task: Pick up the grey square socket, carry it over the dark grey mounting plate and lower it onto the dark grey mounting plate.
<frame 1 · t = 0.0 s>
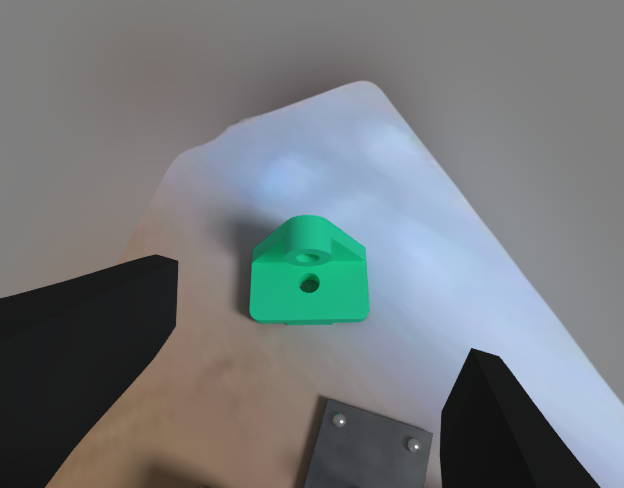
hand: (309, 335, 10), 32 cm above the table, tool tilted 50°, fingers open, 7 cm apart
camera mount: (309, 290, 44), on the table
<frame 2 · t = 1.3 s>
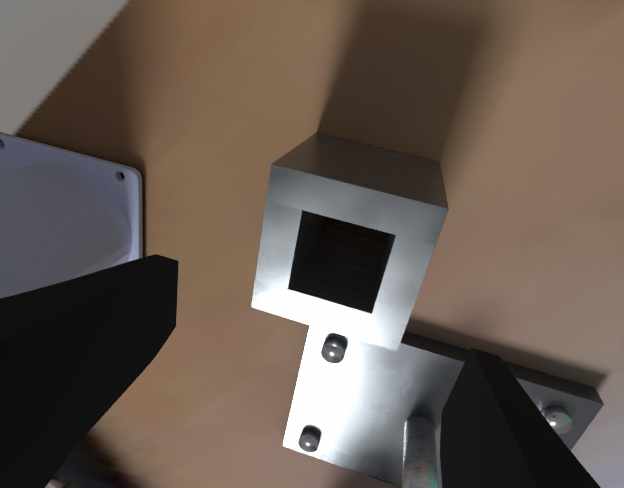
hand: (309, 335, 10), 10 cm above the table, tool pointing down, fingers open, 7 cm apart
grey square socket: (361, 205, 18), on the table
dark grey mounting plate: (419, 413, 23), on the table
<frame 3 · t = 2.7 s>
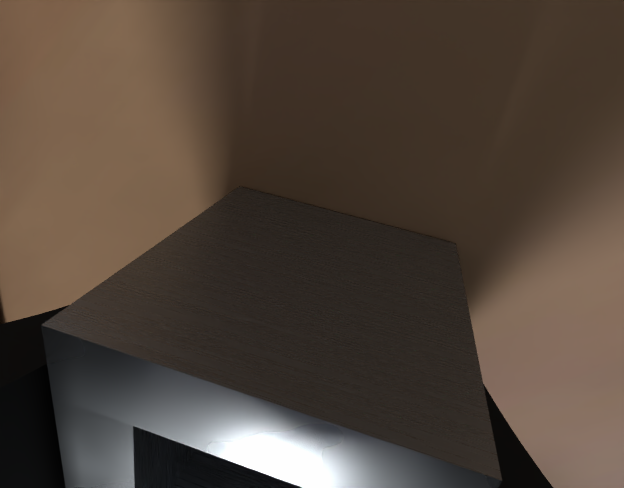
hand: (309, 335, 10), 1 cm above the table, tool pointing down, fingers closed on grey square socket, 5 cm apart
grey square socket: (322, 304, 11), on the table, touching gripper
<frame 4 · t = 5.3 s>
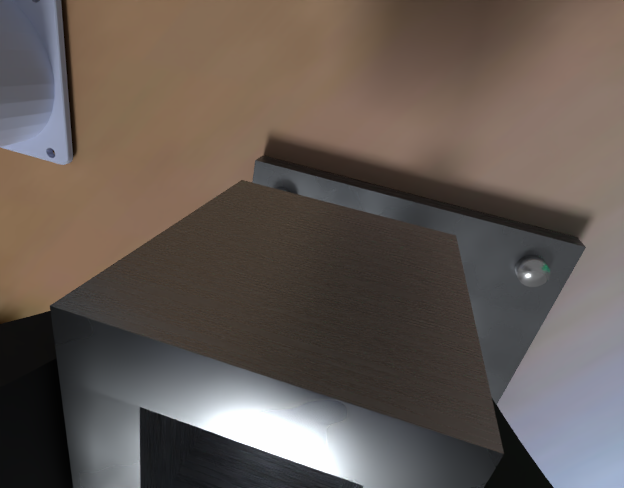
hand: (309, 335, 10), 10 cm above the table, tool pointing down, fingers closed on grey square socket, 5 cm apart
grey square socket: (323, 297, 11), point 8 cm above the table, touching gripper
dark grey mounting plate: (381, 288, 20), on the table
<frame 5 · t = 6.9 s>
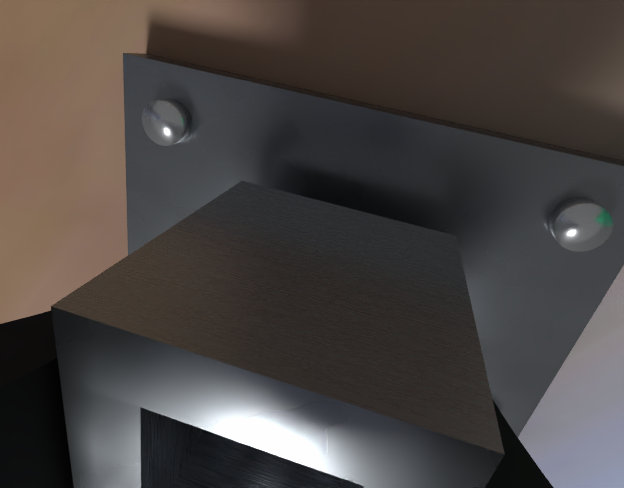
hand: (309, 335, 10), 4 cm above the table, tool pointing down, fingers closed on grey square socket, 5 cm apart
grey square socket: (323, 298, 11), point 2 cm above the table, touching gripper
dark grey mounting plate: (338, 263, 13), on the table
when the fingers open (4 cm above the table, at t = 8.1 s): grey square socket drops 1 cm, resting on dark grey mounting plate.
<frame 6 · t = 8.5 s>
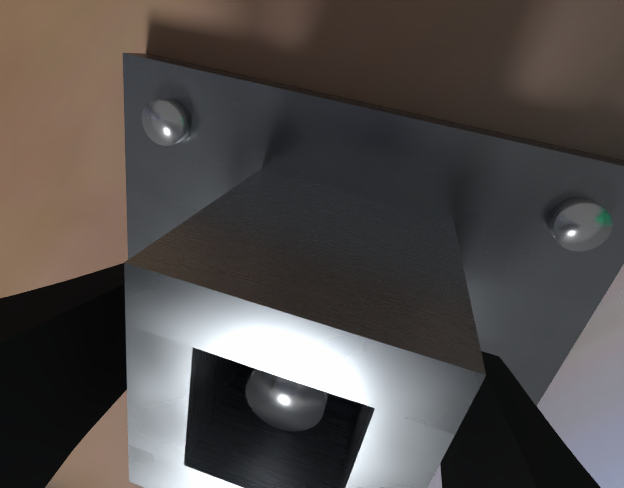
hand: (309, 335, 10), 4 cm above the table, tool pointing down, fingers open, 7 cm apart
grey square socket: (333, 275, 12), point 1 cm above the table, touching dark grey mounting plate
dark grey mounting plate: (338, 263, 13), on the table
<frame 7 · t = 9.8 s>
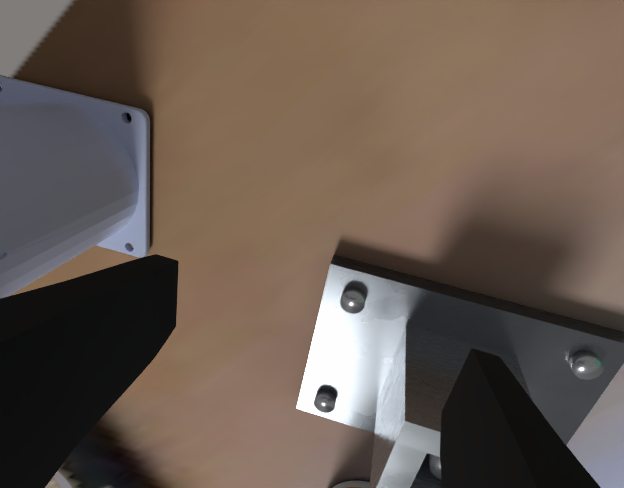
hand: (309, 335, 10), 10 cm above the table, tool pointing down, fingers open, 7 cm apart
grey square socket: (442, 380, 21), point 1 cm above the table, touching dark grey mounting plate
dark grey mounting plate: (440, 368, 22), on the table
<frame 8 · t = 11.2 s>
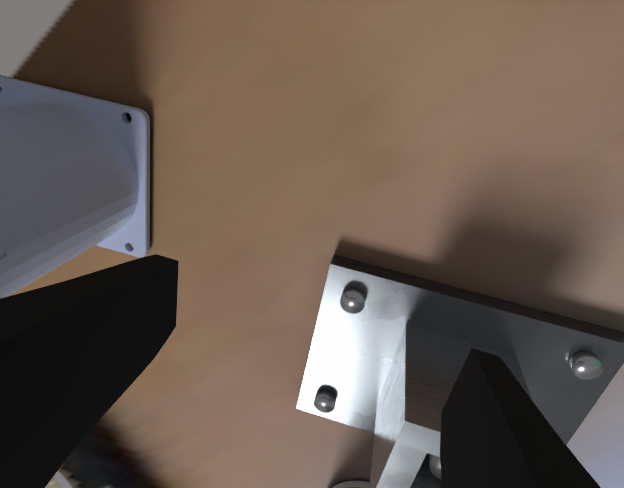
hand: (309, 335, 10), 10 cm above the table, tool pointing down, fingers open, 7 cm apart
grey square socket: (441, 380, 21), point 1 cm above the table, touching dark grey mounting plate
dark grey mounting plate: (440, 368, 22), on the table
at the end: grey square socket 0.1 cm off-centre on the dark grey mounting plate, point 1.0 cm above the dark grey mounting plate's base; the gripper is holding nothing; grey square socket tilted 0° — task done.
